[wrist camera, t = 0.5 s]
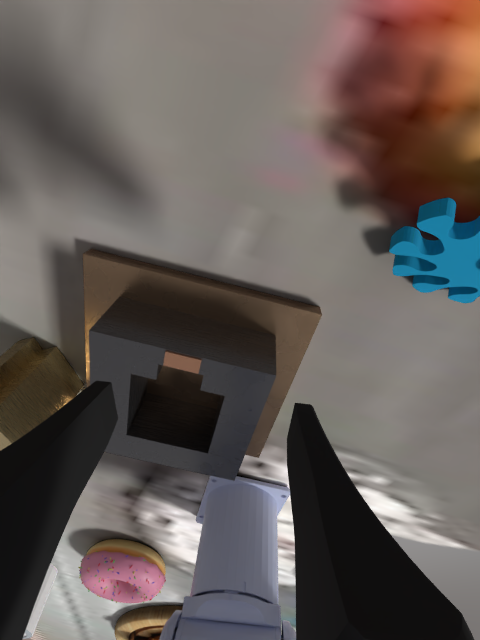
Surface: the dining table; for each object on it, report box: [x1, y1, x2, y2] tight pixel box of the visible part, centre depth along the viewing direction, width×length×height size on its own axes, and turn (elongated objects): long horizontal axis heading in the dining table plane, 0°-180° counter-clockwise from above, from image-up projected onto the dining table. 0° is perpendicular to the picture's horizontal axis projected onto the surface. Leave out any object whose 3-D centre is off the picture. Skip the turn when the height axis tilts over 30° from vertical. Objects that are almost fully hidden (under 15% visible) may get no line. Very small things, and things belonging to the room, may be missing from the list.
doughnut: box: [79, 539, 166, 603], centre depth 41 cm, size 11×11×4 cm
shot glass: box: [23, 564, 58, 639], centre depth 44 cm, size 7×7×7 cm
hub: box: [83, 249, 322, 481], centre depth 22 cm, size 15×15×5 cm
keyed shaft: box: [0, 337, 84, 451], centre depth 22 cm, size 5×4×7 cm
